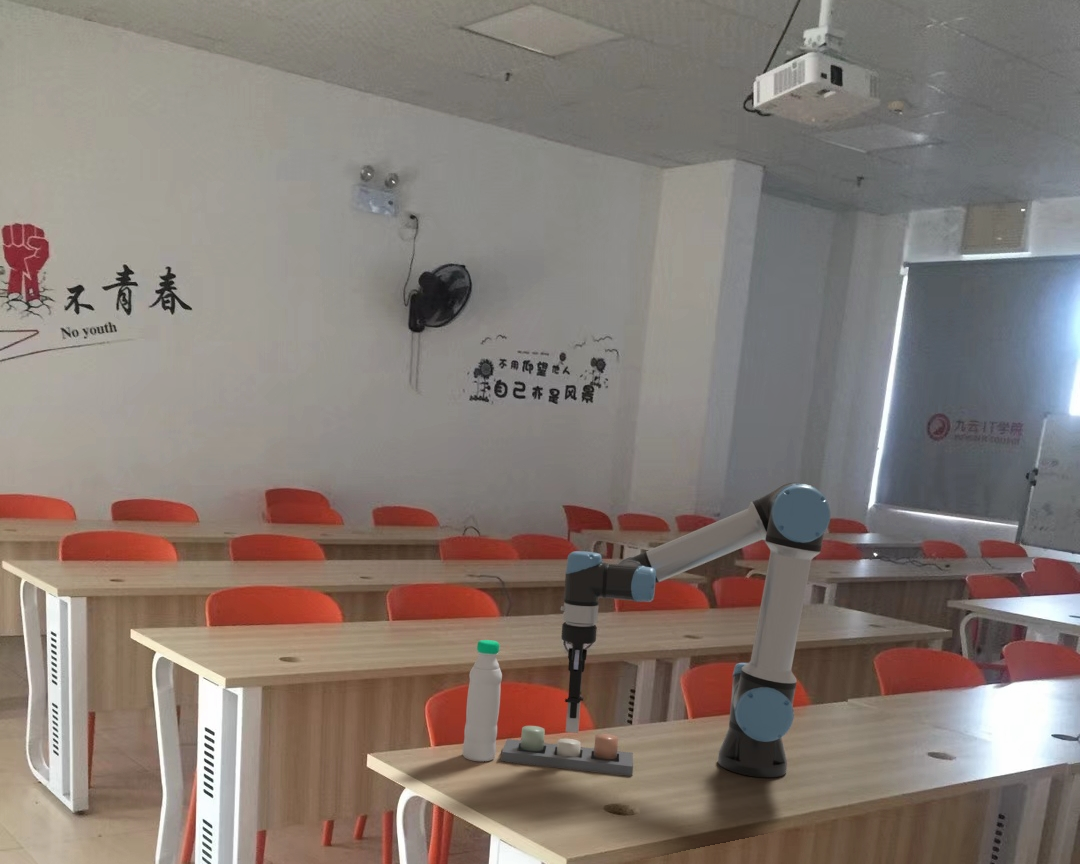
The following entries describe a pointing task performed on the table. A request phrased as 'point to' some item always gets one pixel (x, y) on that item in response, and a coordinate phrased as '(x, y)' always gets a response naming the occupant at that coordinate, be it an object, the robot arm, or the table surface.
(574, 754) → the button ivory
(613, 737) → the button terracotta
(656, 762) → the table surface
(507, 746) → the panel
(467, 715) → the water bottle
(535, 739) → the button sage
